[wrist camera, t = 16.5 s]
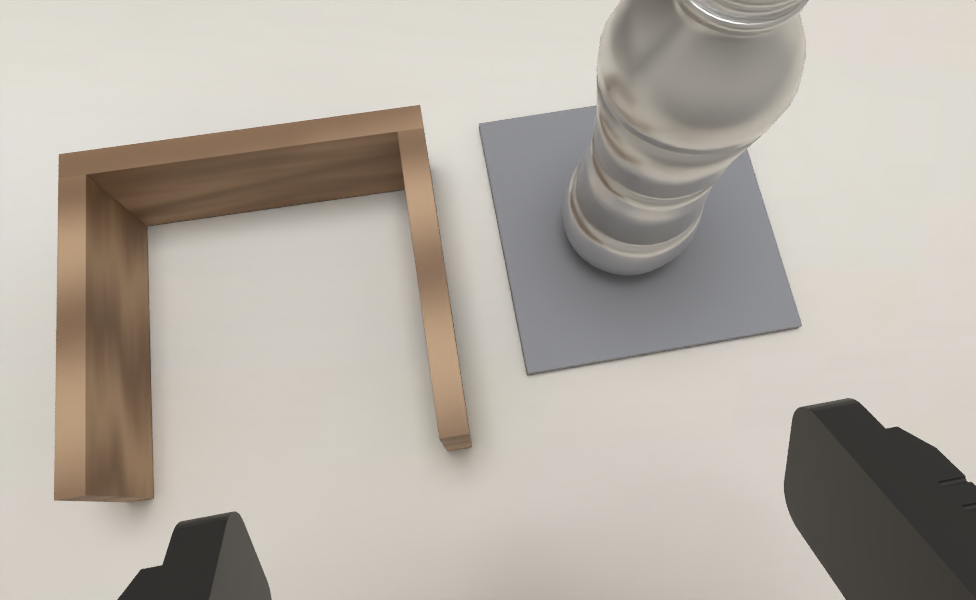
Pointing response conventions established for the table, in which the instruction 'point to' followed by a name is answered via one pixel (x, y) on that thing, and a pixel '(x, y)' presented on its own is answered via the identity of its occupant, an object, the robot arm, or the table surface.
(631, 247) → the plastic bottle
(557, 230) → the charcoal mat
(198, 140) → the walnut stall
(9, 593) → the table surface
